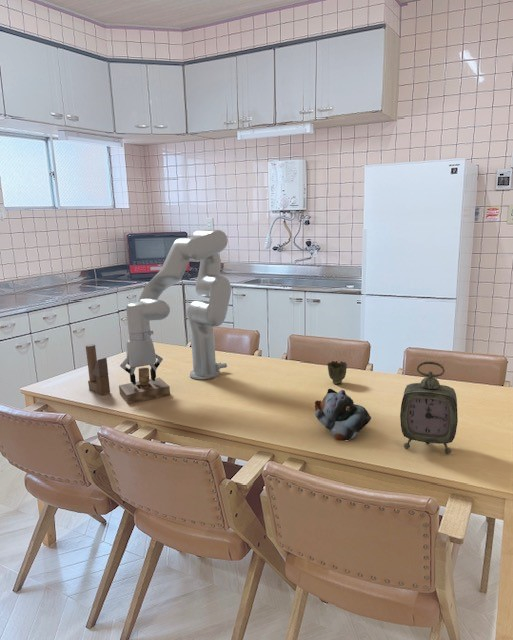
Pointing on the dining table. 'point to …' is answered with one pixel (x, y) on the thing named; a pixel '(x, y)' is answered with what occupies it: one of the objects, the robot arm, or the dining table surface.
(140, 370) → the peg
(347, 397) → the lucky cat figurine
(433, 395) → the tabletop clock
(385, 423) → the dining table surface
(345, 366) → the cup
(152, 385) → the board
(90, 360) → the brown jointed angular part
